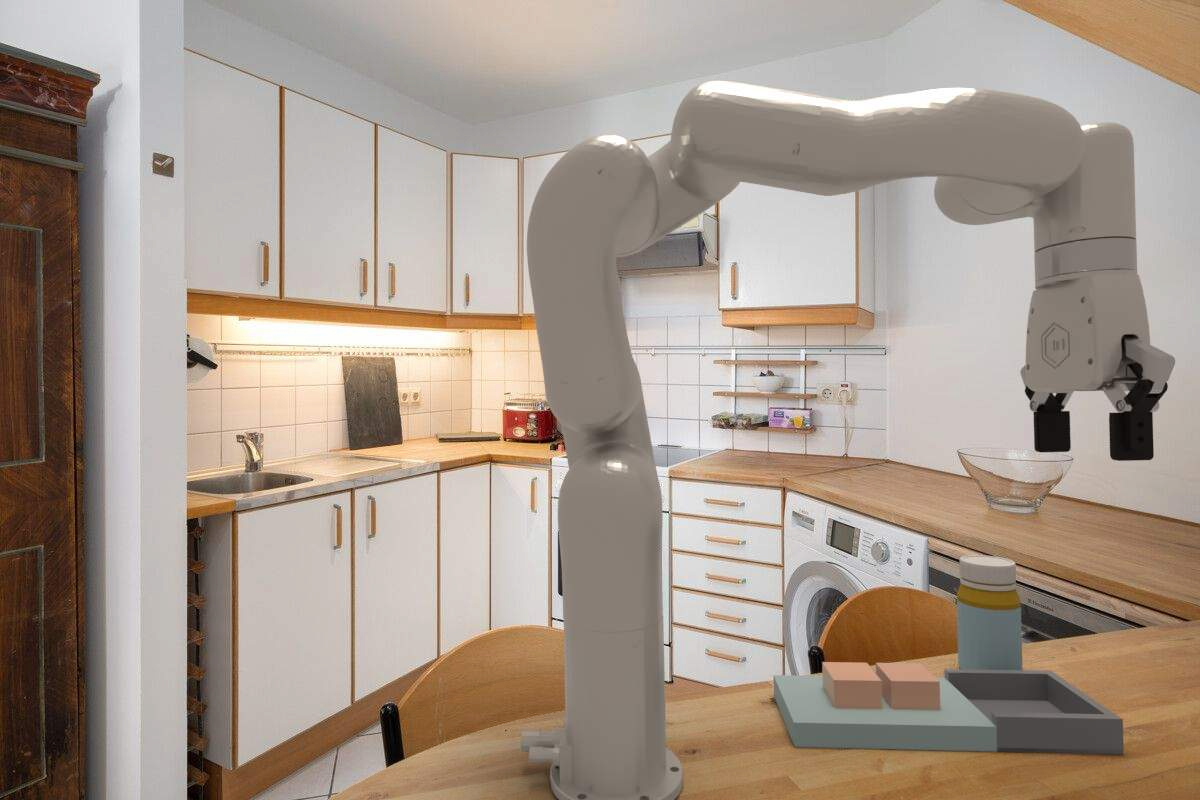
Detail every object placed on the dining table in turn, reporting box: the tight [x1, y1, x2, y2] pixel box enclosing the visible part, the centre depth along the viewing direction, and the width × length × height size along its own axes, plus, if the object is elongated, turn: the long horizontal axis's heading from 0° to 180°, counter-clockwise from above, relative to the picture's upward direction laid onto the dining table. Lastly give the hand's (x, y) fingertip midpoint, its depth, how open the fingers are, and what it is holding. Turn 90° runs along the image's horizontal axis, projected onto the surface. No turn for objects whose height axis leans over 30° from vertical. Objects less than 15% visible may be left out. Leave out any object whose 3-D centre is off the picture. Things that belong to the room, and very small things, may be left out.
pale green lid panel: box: [772, 674, 997, 752], centre depth 73 cm, size 20×12×2 cm, turn 85°
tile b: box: [875, 662, 940, 710], centre depth 73 cm, size 5×5×3 cm
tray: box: [943, 668, 1125, 755], centre depth 72 cm, size 12×12×4 cm
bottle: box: [956, 554, 1024, 670], centre depth 84 cm, size 7×7×15 cm
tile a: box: [821, 661, 882, 709], centre depth 74 cm, size 5×5×3 cm
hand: (1089, 455), depth 60 cm, fingers open, 9 cm apart
